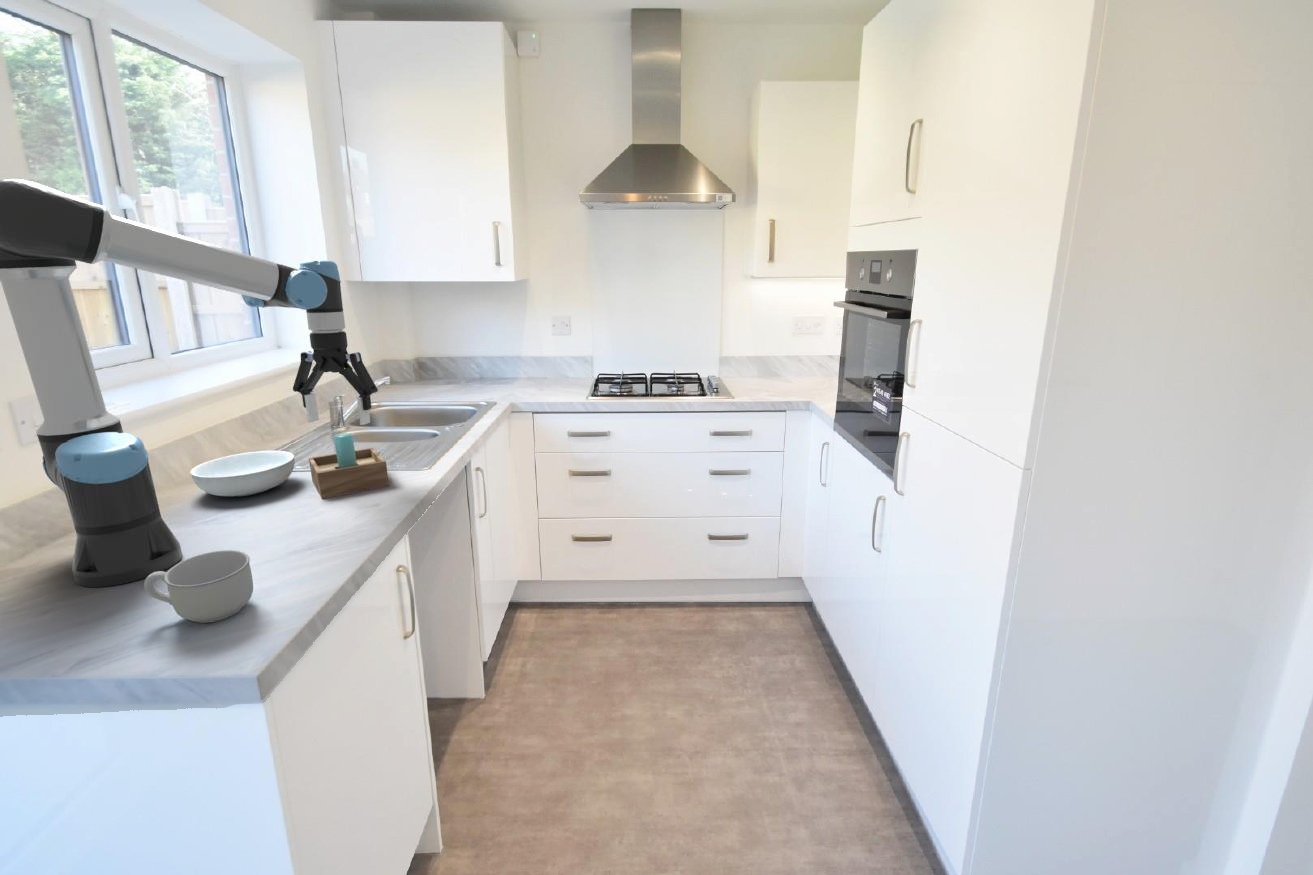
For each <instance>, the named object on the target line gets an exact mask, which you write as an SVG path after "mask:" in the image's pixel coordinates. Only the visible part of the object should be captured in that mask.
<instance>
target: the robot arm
mask: <svg viewBox="0 0 1313 875" xmlns="http://www.w3.org/2000/svg"><path fill="white" fill-rule="evenodd" d="M102 261H103V262H107V263H112V264H115V265H120V266H123V267H128V268H132V269H135V270H141V271H144V272H149V273H152V274H156V275H160V276H165V277H169V278H172V279H173V278H174V279H177V280H181V281H184V282H189V283H194V284H197V285H201V286H205V287H210V288H214V289H218V290H221V291H227V292H230V293H235V294H238V295H240V296H241V298H242V300H243V302H244V303H245V304H246V305H247V306H249V307H250V308H268V307H272V308H275V307H278V308H288V309H290V308H291V309H292V308H293V309H300V310H302V311H304V310H305V314H306V319H307V329H308V330H309V331H311V332H310V333H309V335H308V336H309V340H310V341H309V342H310V348H311V349H312V350H313V351H311V350H308V351H302V352H300V364H299V366H298V370H297V374H296V377H295V380H294V382H293V386H292V390H293V392H297V393H300V394H301V399H302V403H303V404H302V405H303V407H304V408H305V410H306V416H307V422H308V423H309V424H310V423H314V422H317V421H319V420H320V419H319V412H318V404H317V396H316V393H315V392H314V391H313V390H314V389H315V387H316V386H317V384H318V382H320V379H321V378H322V377H323V374H325V373H329V372H330V373H332V374H333V373H335V374H336V373H338V374H340V375H341V376H343V377H344V378H345V380H346V381H347V382H348V383H349V385H351V387H352V388H353V389H354V390H355V391H356V393H358V394H359V395H358V396H356V399H357V400H356V401H357V407H358V416H359V424H360V426H364V425H367V424H370V423H371V417H370V410H371V408H372V401H371V395H373V394H375V393H377V392H378V391H379V390H378V387H377V386H376V384H375V382H374V380H373V379H372V377H371V374H370V373H369V370H367V367H366V366H365V363H364V362H363V360H362V359H363V358H362V355H361V353H360V352H358V351H357V352H353V353H348V336H347V332H346V331H344V330H345V329H346V322H345V321H346V320H345V314H344V308H343V307H344V306H343V305H344V304H343V298H342V297H343V296H342V286H341V283H342V281H341V277H340V272H339V269H338V264H337V263H336V262H334V261H332V260H302V261H300V263H299V269H298V268H295V267H291V266H287V265H284V264H279V263H276V262H273V261H270V260H267V259H264V258H260V257H257V256H254V255H253V256H252V255H249V254H247V253H242V252H239V251H235V250H233V249H230V248H225V247H222V246H219V245H216V244H213V243H208V242H205V241H202V240H198V239H194V238H192V237H188V236H184V235H181V234H178V233H174V232H171V231H169V230H168V231H167V230H165V229H161V228H157V227H154V226H150V225H146V224H143V223H140V222H136V221H134V220H133V221H132V220H130V219H128V218H127V219H126V218H123V217H120V216H116V215H112V214H111V213H110V212H109V211H108V209H107V208H106V207H105V206H104V205H101V204H98V203H94V202H92V201H91V202H90V201H88V200H85V199H82V198H79V197H76V196H73V195H71V194H68V193H64V192H62V191H59V190H56V189H55V188H51V187H49V186H45V185H43V184H40V183H38V182H34V181H30V180H29V181H28V180H26V179H18V178H8V179H1V180H0V283H1V286H2V290H3V293H4V295H5V300H6V302H7V306H8V309H9V311H10V314H11V319H12V321H13V325H14V329H15V331H16V335H17V338H18V340H19V344H20V346H21V350H22V353H23V357H24V359H25V363H26V366H27V370H28V372H29V376H30V379H31V381H32V384H33V388H34V391H35V394H36V397H37V400H38V404H39V407H40V410H41V414H42V417H43V422H42V424H40V426H39V427H38V428H37V429H36V431H35V432H36V433H35V434H36V436H37V439H38V442H39V446H40V449H41V452H42V454H43V455H42V468H43V470H44V473H45V475H46V476H47V478H48V479H49V480H50V481H51V482H52V483H53V484H54V485H55V486H57V487H58V488H59V489H60V490H61V491H62V492H63V493H64V495H65V498H66V501H67V504H68V507H69V512H70V515H71V516H70V517H71V520H72V523H73V527H74V530H75V534H76V540H75V546H74V553H73V560H72V566H71V571H72V576H73V578H74V582H75V583H76V584H77V585H79V586H81V587H82V586H83V587H88V588H89V587H90V588H96V587H97V588H100V587H111V586H117V585H122V584H127V583H130V582H131V583H132V582H135V581H139V580H142V579H146V578H147V577H148V576H149V575H150V574H152V573H154V572H158V571H164V572H165V570H169V568H170V569H171V568H172V567H173V566H175V565H176V564H178V563H179V561H180V560H181V559H182V558H183V552H182V547H181V544H180V542H179V540H178V539H177V537H176V536H175V535H174V533H173V531H172V530H171V528H170V527H169V526H168V525H167V524H166V522H165V521H164V519H163V517H162V515H161V511H160V510H161V509H160V506H159V502H158V498H157V493H156V490H155V489H156V488H155V484H154V479H153V476H152V473H151V472H152V471H151V468H150V462H149V453H148V451H147V449H146V447H145V444H144V442H143V439H141V438H140V437H138V436H137V435H134V434H132V433H127V432H124V430H123V426H122V423H121V420H120V417H118V416H116V415H114V414H113V413H110V412H109V411H108V410H107V409H106V405H105V401H104V397H103V395H102V390H101V386H100V383H99V380H98V376H97V373H96V370H95V366H94V363H93V359H92V356H91V353H90V348H89V344H88V342H87V338H86V334H85V331H84V327H83V325H82V320H81V317H80V314H79V310H78V306H77V304H76V303H77V302H76V299H75V296H74V292H73V289H72V286H71V282H70V276H71V275H72V274H73V273H74V272H75V270H76V269H78V266H77V263H76V262H81V263H85V264H89V265H94V264H96V263H99V262H102ZM313 362H315V365H314V366H313V368H312V365H313ZM349 363H350V364H351V365H350V364H349ZM311 368H312V369H311ZM311 370H312V371H311ZM310 372H311V373H310Z"/></svg>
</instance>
